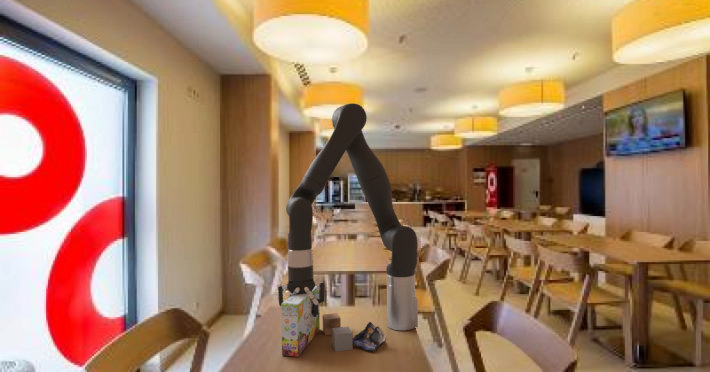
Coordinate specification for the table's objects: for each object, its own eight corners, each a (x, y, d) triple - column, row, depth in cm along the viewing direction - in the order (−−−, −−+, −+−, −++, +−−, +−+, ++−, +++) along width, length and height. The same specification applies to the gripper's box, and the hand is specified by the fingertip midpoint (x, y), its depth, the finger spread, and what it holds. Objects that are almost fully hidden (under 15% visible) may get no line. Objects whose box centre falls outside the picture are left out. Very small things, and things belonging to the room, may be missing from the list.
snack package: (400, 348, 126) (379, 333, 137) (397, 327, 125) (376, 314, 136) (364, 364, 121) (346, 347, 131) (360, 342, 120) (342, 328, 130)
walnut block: (337, 328, 142) (337, 313, 142) (340, 333, 137) (340, 318, 137) (322, 329, 141) (322, 314, 141) (325, 335, 136) (324, 319, 136)
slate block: (349, 342, 130) (348, 326, 130) (352, 349, 125) (352, 332, 125) (332, 344, 129) (332, 328, 129) (335, 351, 124) (335, 334, 124)
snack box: (300, 357, 120) (298, 303, 120) (281, 356, 121) (279, 303, 121) (321, 329, 141) (319, 283, 140) (304, 328, 142) (303, 283, 142)
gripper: (322, 259, 136) (323, 311, 136) (275, 262, 132) (277, 316, 133) (326, 264, 128) (327, 319, 129) (277, 268, 125) (278, 324, 126)
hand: (301, 317), depth 131 cm, fingers closed on snack box, 7 cm apart
